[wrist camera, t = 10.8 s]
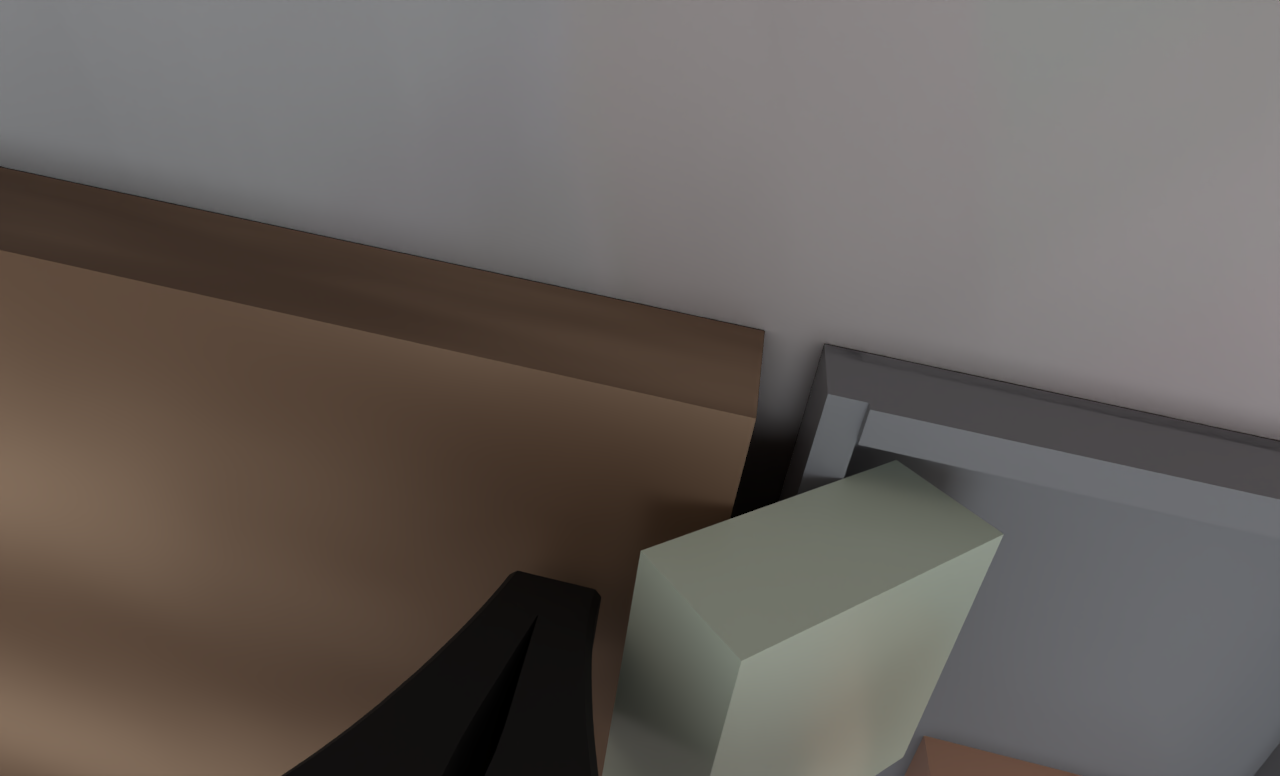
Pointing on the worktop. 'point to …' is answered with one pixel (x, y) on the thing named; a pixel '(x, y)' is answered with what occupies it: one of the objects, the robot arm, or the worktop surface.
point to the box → (1081, 568)
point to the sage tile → (797, 632)
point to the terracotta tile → (970, 762)
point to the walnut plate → (309, 473)
